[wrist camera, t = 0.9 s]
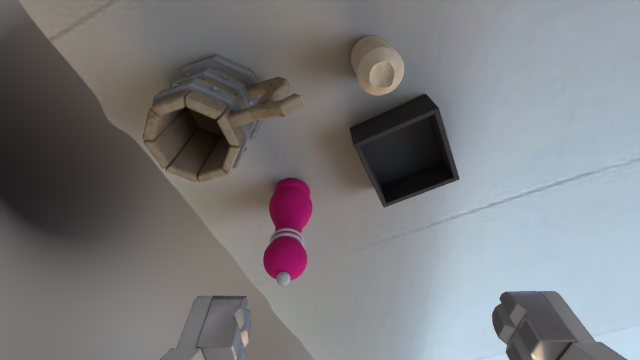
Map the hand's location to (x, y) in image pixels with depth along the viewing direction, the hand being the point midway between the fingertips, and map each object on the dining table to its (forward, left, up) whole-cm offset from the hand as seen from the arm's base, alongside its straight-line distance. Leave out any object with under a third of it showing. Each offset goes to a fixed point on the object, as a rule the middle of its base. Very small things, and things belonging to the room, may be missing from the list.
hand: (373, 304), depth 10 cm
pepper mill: (+21, -13, -40) cm, 47 cm away
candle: (+2, +5, -40) cm, 40 cm away
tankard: (+2, -14, -40) cm, 42 cm away
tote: (+17, +7, -40) cm, 44 cm away
